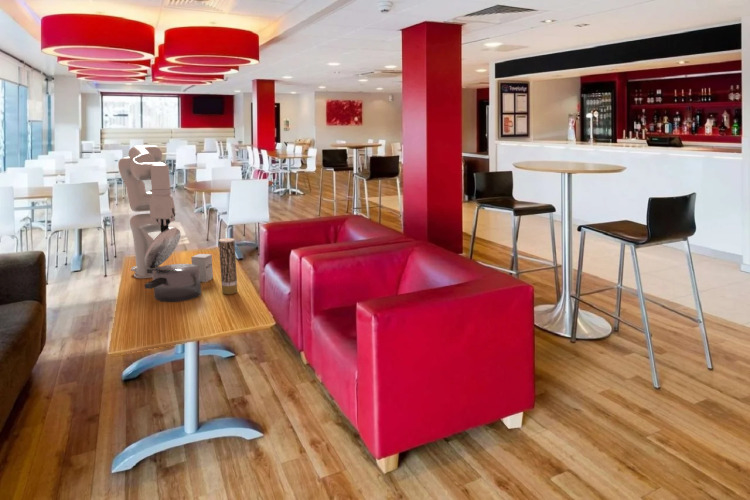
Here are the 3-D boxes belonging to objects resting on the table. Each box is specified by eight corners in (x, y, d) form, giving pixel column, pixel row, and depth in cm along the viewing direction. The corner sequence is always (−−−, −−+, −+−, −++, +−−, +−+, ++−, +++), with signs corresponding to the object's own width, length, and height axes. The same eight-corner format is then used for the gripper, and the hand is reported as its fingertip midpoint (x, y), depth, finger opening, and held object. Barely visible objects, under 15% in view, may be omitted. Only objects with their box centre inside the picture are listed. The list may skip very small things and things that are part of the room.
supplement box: (206, 282, 268) (204, 257, 265) (192, 281, 270) (190, 256, 267) (213, 278, 275) (212, 254, 273) (200, 277, 277) (198, 253, 274)
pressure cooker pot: (123, 306, 234) (120, 279, 231) (166, 286, 262) (164, 262, 259) (171, 311, 228) (168, 283, 225) (209, 290, 256) (207, 265, 254)
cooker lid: (140, 273, 239) (134, 268, 240) (169, 261, 259) (163, 257, 259) (157, 233, 233) (151, 229, 233) (186, 224, 252) (180, 220, 253)
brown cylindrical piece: (230, 289, 257) (227, 237, 252) (240, 292, 254) (237, 239, 248) (219, 293, 252) (215, 240, 246) (229, 295, 248) (225, 241, 242)
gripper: (141, 193, 238) (145, 234, 242) (171, 194, 234) (174, 236, 238) (152, 191, 245) (155, 231, 249) (181, 192, 241) (184, 233, 246)
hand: (165, 233), depth 244 cm, fingers closed
